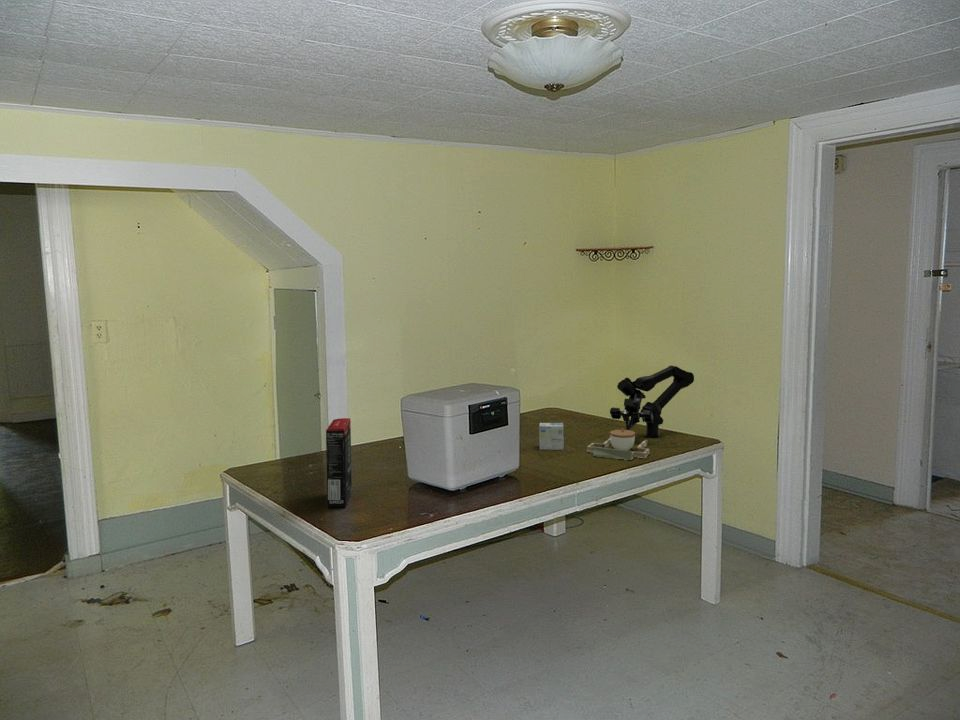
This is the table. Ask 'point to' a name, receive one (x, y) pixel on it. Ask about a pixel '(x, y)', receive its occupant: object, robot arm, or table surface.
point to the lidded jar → (622, 439)
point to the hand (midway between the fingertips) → (627, 430)
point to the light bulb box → (551, 436)
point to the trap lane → (617, 451)
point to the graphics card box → (338, 462)
